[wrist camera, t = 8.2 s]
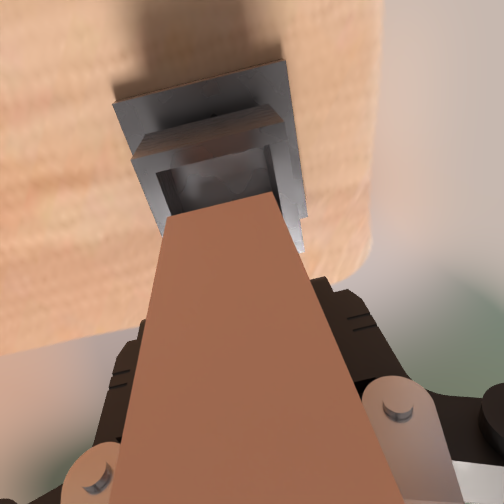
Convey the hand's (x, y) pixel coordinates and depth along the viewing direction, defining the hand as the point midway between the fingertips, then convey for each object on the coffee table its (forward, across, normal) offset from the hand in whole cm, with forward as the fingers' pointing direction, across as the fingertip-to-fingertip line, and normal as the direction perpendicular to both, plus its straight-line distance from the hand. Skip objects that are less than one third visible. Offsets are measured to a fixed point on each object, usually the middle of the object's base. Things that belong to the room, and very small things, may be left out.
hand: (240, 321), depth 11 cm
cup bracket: (+15, 0, 0) cm, 15 cm away
